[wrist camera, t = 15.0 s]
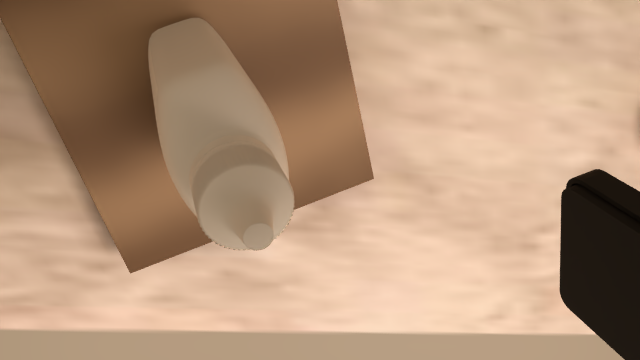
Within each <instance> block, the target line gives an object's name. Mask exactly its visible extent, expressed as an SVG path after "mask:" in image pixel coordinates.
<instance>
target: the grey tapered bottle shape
mask: <svg viewBox="0 0 640 360" xmlns="http://www.w3.org/2000/svg"><path fill="white" fill-rule="evenodd" d="M148 61H149V72H150V79H151V86H152V94H153V101H154V108H155V116H156V122H157V129H158V135H159V140H160V145H161V149H162V153H163V157H164V160H165V163H166V166H167V169H168V171H169V174H170V176H171V179H172V181H173V183H174V185H175V187H176V189H177V191H178V192H179V194H180V196H181V197H182V199H183V200H184V202H185V203H186V205H187V206H188V207H189V208H190V210H191V211H192V212H193V213H194V214H195V216H196V217H197V218H198V223H199V224H200V227H201V228H202V231H204V232H205V235H207V236H208V238H210V239H211V240H212V241H214V242H215V243H216V244H219V245H220V246H224V248H229V249H233V250H250V249H251V250H262V249H264V248H266V247H268V246H269V245H270V244H271V242H272V240H273V239H275V238H276V237H277V236H279V235H280V233H282V232H283V230H284V229H285V228H286V226H287V225H288V224H289V223H288V222H289V221H290V220H291V219H290V218H291V217H292V213H293V211H294V210H293V208H294V207H295V206H294V203H295V201H294V198H295V197H294V195H293V194H294V192H293V190H292V189H293V188H292V187H291V184H290V182H289V171H288V162H287V156H286V151H285V147H284V143H283V140H282V137H281V134H280V131H279V129H278V126H277V124H276V122H275V119H274V117H273V115H272V114H271V112H270V110H269V108H268V106H267V104H266V103H265V101H264V99H263V98H262V96H261V95H260V93H259V92H258V90H257V88H256V87H255V85H254V84H253V83H252V81H251V80H250V78H249V77H248V75H247V74H246V72H245V71H244V69H243V68H242V67H241V65H240V64H239V62H238V61H237V59H236V58H235V56H234V55H233V54H232V52H231V51H230V49H229V48H228V46H227V45H226V43H225V42H224V41H223V39H222V38H221V37H220V36H219V34H218V33H217V32H216V31H215V30H214V28H213V27H212V26H211V25H210V24H209V23H207V22H206V21H205V20H203V19H201V18H189V19H186V20H183V21H180V22H177V23H174V24H171V25H168V26H165V27H162V28H160V29H158V30H156V31H155V32H154V33H152V35H151V37H150V39H149V46H148Z"/></svg>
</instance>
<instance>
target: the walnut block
mask: <svg viewBox="0 0 640 360" xmlns="http://www.w3.org/2000/svg"><path fill="white" fill-rule="evenodd" d="M0 18H1V20H2V22H3V24H4V26H5V28H6V30H7V32H8V34H9V35H10V37H11V39H12V41H13V43H14V45H15V47H16V49H17V51H18V53H19V55H20V57H21V59H22V61H23V63H24V65H25V67H26V69H27V71H28V73H29V75H30V77H31V79H32V81H33V83H34V85H35V87H36V89H37V91H38V93H39V95H40V97H41V98H42V100H43V102H44V104H45V106H46V108H47V110H48V112H49V114H50V116H51V118H52V120H53V122H54V124H55V126H56V128H57V130H58V132H59V134H60V136H61V138H62V140H63V142H64V144H65V146H66V148H67V150H68V152H69V154H70V156H71V158H72V160H73V162H74V163H75V165H76V167H77V169H78V171H79V173H80V175H81V177H82V179H83V181H84V183H85V185H86V187H87V189H88V191H89V193H90V195H91V197H92V199H93V201H94V203H95V205H96V207H97V209H98V211H99V213H100V215H101V217H102V219H103V221H104V223H105V225H106V226H107V228H108V230H109V232H110V234H111V236H112V238H113V240H114V242H115V244H116V246H117V248H118V250H119V252H120V254H121V256H122V258H123V260H124V262H125V264H126V266H127V268H128V270H129V272H130V273H133V272H135V271H138V270H140V269H143V268H146V267H148V266H151V265H153V264H156V263H158V262H161V261H164V260H166V259H169V258H171V257H174V256H176V255H179V254H182V253H184V252H187V251H189V250H192V249H194V248H197V247H199V246H202V245H205V244H207V243H210V242H212V240H211V239H210V238H208V236H207V235H205V232H204V231H202V228H201V227H200V224H199V223H198V218H197V217H196V216H195V214H194V213H193V212H192V211H191V210H190V208H189V207H188V206H187V205H186V203H185V202H184V200H183V199H182V197H181V196H180V194H179V192H178V191H177V189H176V187H175V185H174V183H173V181H172V179H171V176H170V174H169V171H168V169H167V166H166V163H165V160H164V157H163V153H162V149H161V145H160V140H159V135H158V129H157V122H156V116H155V108H154V101H153V94H152V86H151V79H150V72H149V61H148V46H149V39H150V37H151V35H152V33H154V32H155V31H156V30H158V29H160V28H162V27H165V26H168V25H171V24H174V23H177V22H180V21H183V20H186V19H189V18H201V19H203V20H205V21H206V22H207V23H209V24H210V25H211V26H212V27H213V28H214V30H215V31H216V32H217V33H218V34H219V36H220V37H221V38H222V39H223V41H224V42H225V43H226V45H227V46H228V48H229V49H230V51H231V52H232V54H233V55H234V56H235V58H236V59H237V61H238V62H239V64H240V65H241V67H242V68H243V69H244V71H245V72H246V74H247V75H248V77H249V78H250V80H251V81H252V83H253V84H254V85H255V87H256V88H257V90H258V92H259V93H260V95H261V96H262V98H263V99H264V101H265V103H266V104H267V106H268V108H269V110H270V112H271V114H272V115H273V117H274V119H275V122H276V124H277V126H278V129H279V131H280V134H281V137H282V140H283V143H284V147H285V151H286V156H287V162H288V171H289V182H290V184H291V187H292V188H293V189H292V190H293V192H294V194H293V195H294V197H295V198H294V201H295V203H294V206H295V207H294V208H293V210H295V209H297V208H300V207H302V206H305V205H307V204H310V203H313V202H315V201H318V200H320V199H323V198H325V197H328V196H331V195H333V194H336V193H338V192H341V191H343V190H346V189H349V188H351V187H354V186H356V185H359V184H361V183H364V182H367V181H369V180H372V179H374V177H373V172H372V167H371V162H370V157H369V152H368V148H367V143H366V138H365V133H364V128H363V123H362V119H361V114H360V109H359V104H358V99H357V94H356V90H355V85H354V80H353V75H352V70H351V65H350V61H349V56H348V51H347V46H346V41H345V36H344V32H343V27H342V22H341V17H340V12H339V7H338V3H337V0H0Z"/></svg>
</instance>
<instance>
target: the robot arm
mask: <svg viewBox="0 0 640 360" xmlns="http://www.w3.org/2000/svg"><path fill="white" fill-rule="evenodd" d="M560 294H561V298H562V300H563V302H564V303H565V305H566V306H567V307H568V308H569V309H570V310H571V311H572V312H573V313H574V314H575V315H576V316H577V317H578V318H580V319H581V320H582V321H583V322H584V323H585V324H586V325H587V326H588V327H589V328H591V329H592V330H593V331H594V332H595V333H596V334H597V335H598V336H599V337H600V338H602V339H603V340H604V341H605V342H606V343H607V344H608V345H609V346H610V347H611V348H613V349H614V350H615V351H616V352H617V353H618V354H619V355H620V356H622V358H624V359H625V360H640V192H639V191H638V190H636V189H634V188H633V187H631V186H629V185H627V184H626V183H624V182H622V181H620V180H619V179H617V178H615V177H613V176H612V175H610V174H608V173H607V172H605V171H602V170H600V169H595V170H592V171H590V172H587V173H585V174H582V175H579V176H577V177H574V178H572V179H570V180H569V181H568V183H567V186H566V189H565V190H563V192H562V196H561V250H560Z"/></svg>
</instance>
